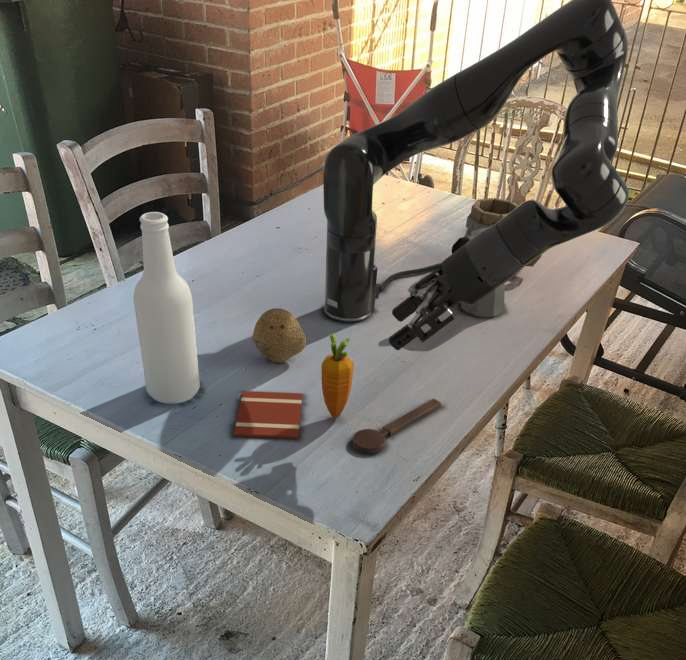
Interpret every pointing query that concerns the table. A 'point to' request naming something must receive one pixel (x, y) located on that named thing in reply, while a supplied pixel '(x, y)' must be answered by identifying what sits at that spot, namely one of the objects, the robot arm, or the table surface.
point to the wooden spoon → (390, 429)
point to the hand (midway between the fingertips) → (393, 330)
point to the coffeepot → (491, 302)
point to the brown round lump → (278, 335)
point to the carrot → (337, 378)
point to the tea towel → (269, 415)
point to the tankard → (490, 215)
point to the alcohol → (165, 318)
